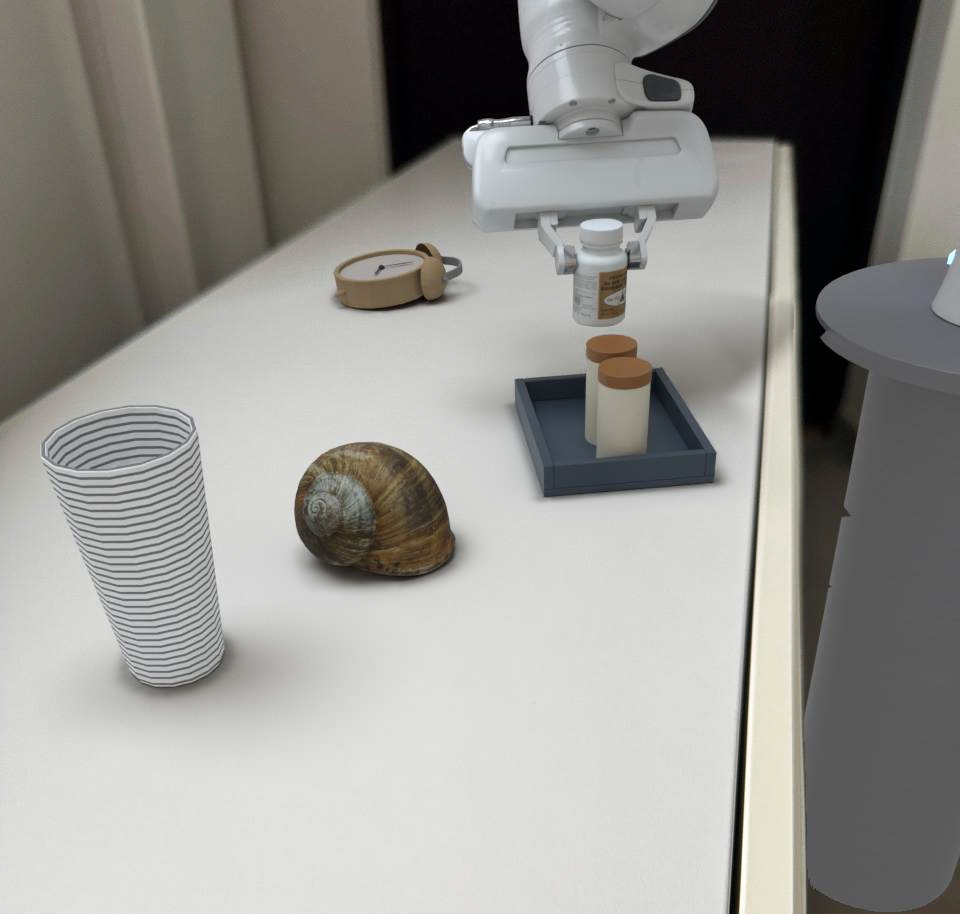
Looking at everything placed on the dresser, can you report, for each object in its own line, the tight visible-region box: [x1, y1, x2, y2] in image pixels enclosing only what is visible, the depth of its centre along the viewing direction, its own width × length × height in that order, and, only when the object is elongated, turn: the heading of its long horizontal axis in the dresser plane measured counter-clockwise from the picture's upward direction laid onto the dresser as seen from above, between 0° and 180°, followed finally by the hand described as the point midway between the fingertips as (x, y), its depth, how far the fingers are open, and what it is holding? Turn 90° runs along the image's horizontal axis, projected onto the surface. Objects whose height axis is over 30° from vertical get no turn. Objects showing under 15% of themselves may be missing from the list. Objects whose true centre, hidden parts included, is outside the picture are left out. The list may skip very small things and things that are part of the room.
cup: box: [39, 404, 226, 688], centre depth 63 cm, size 8×8×16 cm
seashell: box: [293, 441, 456, 577], centre depth 74 cm, size 11×9×8 cm
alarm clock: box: [332, 242, 464, 309], centre depth 122 cm, size 11×5×15 cm
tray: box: [514, 366, 718, 497], centre depth 89 cm, size 14×18×3 cm
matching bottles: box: [585, 333, 653, 458], centre depth 85 cm, size 4×9×8 cm, turn 6°
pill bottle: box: [572, 218, 628, 328], centre depth 86 cm, size 4×4×8 cm
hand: (602, 269), depth 85 cm, fingers closed on pill bottle, 4 cm apart
